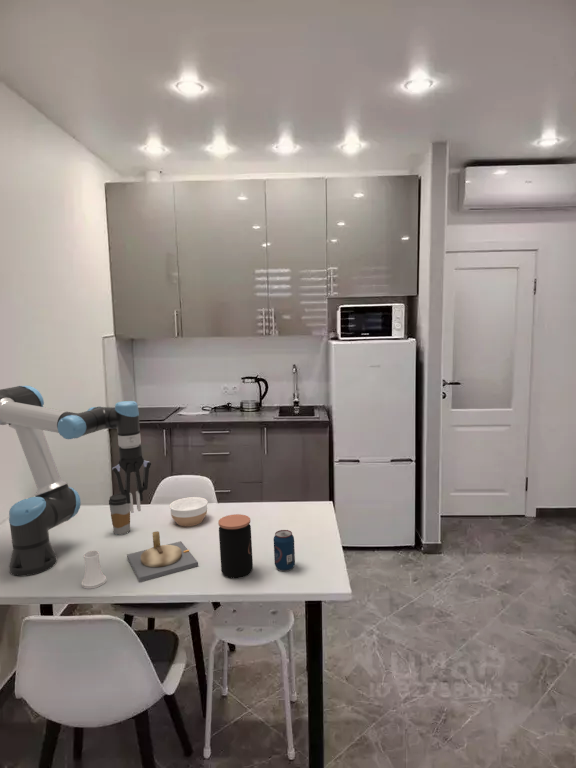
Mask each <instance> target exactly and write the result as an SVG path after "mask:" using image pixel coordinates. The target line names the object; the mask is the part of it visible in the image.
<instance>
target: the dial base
mask: <svg viewBox="0 0 576 768" xmlns="http://www.w3.org/2000/svg"><path fill="white" fill-rule="evenodd" d="M167 545H174V546H177V547H179V548H180V549H181V551H182V556H181V558H180V559H179V560H178V561H177V562H175V563H173V564H170V565H167V566H163V567H148V566H145V565H143V564H142V563H141V554H142V553H143V552H144V551H146V550H148V549H149V548H147V549H144V550H140V551H136V552H131V553H128V554H126V558H127V561H128V562H129V565H130V566H131V568H132V570H133V573H134V574H135V576H136V578H137V580H138V583H142V582H145V581H149V580H154V579H156V578H160V577H164V576H167V575H171V574H174V573H178V572H182V571H186V570H189V569H192V568H196V567H199V561H197V559H196V558H195V556H194V555H193V554H192V553H191V552H190V549H188V548H187V546H186V545H185V544H184V543H183V541H176V542H172V543H169V544H168V543H167Z"/></svg>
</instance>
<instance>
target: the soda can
mask: <svg viewBox="0 0 576 768" xmlns="http://www.w3.org/2000/svg"><path fill="white" fill-rule="evenodd" d="M273 554H274V555H273V556H274V557H273V558H274V560H273V561H274V566H275V567H276V569H277V570H278V571H282V572H288V571H291V570H293V568H294V566H295V565H296V552H295V537H294V535H293V532H292V530H288V529H280V530H276V532H275V533H274V536H273Z"/></svg>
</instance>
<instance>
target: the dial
mask: <svg viewBox="0 0 576 768" xmlns="http://www.w3.org/2000/svg"><path fill="white" fill-rule="evenodd" d="M151 534H152V546H153V547H149V548H147V549H148V550H147V549H145V550H146V551H144V552H143V553H142V554H141V563H142V564H143V565H145V566H148V567H163V566H167V565H170V564H173V563H175V562H177V561H178V560H179V559H180V558H181V556H182V551H181V549H180V548H179V547H177V546H174V545H168V544H161V537H160V531H157V530H156V531H153V532H152V533H151Z"/></svg>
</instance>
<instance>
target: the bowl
mask: <svg viewBox="0 0 576 768" xmlns="http://www.w3.org/2000/svg"><path fill="white" fill-rule="evenodd" d="M208 502H209V501H208V500H207V499H206V498H204V497H200V496H192V497H191V496H189V497H183V498H179V499H176V500H174V501H172V502H171V503H170V504H169V509H170V516H171V518H172V520H173V521H174V522H176V523H177V525H178V526H181V527H193V526H197V525H199V524H201V523H202V522H203V520H204V519H205V517H207V513H208Z"/></svg>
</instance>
